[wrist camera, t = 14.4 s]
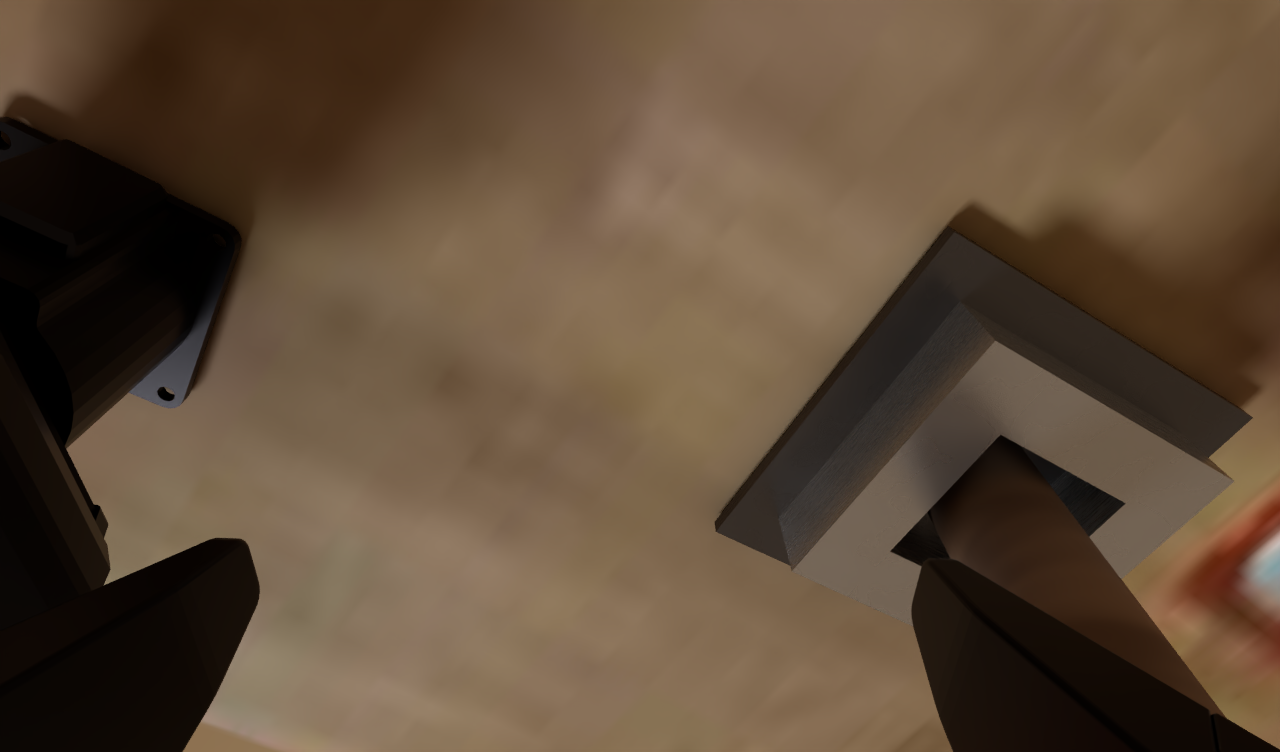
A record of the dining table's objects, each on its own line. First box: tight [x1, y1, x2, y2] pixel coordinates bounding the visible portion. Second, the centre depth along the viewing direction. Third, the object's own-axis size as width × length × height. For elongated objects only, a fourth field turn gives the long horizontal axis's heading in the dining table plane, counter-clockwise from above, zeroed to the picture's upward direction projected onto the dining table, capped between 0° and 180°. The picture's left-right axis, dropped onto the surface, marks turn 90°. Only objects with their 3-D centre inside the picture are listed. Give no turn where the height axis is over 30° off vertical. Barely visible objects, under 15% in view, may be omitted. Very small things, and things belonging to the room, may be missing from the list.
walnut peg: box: [927, 435, 1226, 718], centre depth 18 cm, size 4×4×16 cm
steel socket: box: [715, 226, 1253, 626], centre depth 24 cm, size 12×12×3 cm
